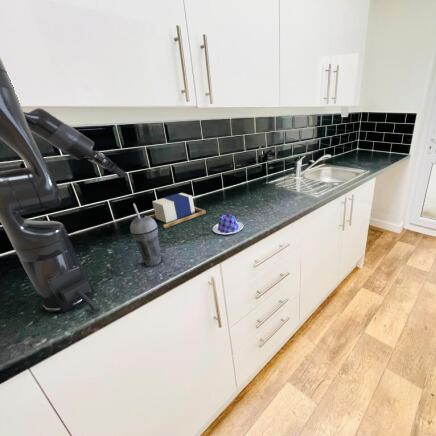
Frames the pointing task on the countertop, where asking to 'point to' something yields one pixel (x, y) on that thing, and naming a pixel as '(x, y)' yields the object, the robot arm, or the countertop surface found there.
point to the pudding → (227, 225)
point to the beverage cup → (146, 238)
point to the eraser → (173, 207)
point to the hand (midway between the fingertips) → (123, 175)
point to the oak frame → (183, 218)
